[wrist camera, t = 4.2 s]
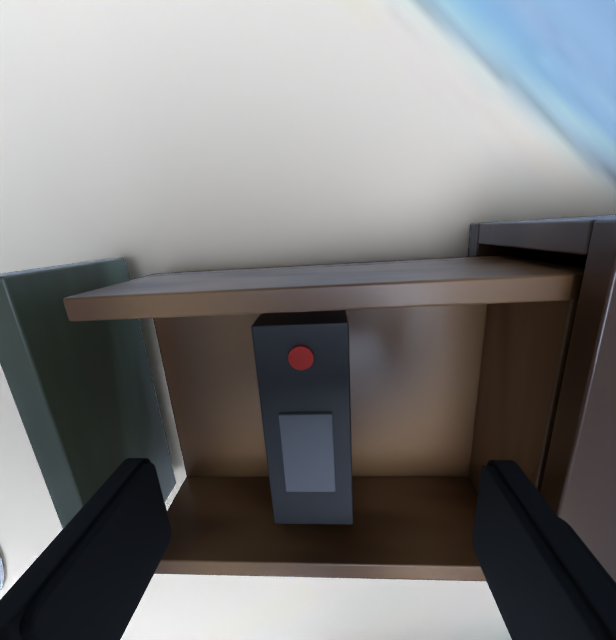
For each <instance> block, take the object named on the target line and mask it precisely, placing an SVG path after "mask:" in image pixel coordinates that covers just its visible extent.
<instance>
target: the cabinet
mask: <svg viewBox="0 0 616 640" xmlns="http://www.w3.org/2000/svg"><path fill="white" fill-rule="evenodd" d="M499 255H502V256H508V257H514V258H521V259H527V260H533V261H540V262H546V263H552V264H559V265H565V266H572V267H578V268H584V269H585V270H584V275H583V280H582V285H581V290H580V295H579V300H578V305H577V310H576V315H575V321H574V326H573V331H572V336H571V341H570V346H569V351H568V356H567V361H566V366H565V371H564V376H563V382H562V387H561V392H560V397H559V402H558V407H557V412H556V417H555V422H554V427H553V432H552V437H551V442H550V448H549V453H548V458H547V463H546V468H545V473H544V478H543V483H542V488H541V493H540V494H541V495H542V496H543V498H544V499H545V500H546V502H547V503H548V504H549V506H550V507H551V508H552V509H553V511H554V512H555V513H556V515H557V516H558V517H559V518H561V519H563V520H564V521H566V522H567V523H568V524H569V525H570V526H571V527H572V528H573V530H574V531H575V532H576V533H577V535H578V536H579V537H580V538H581V540H582V541H583V542H584V543H585V545H586V546H587V547H588V548H589V550H590V551H591V552H592V553H593V555H594V556H595V557H596V559H597V560H598V561H599V562H600V564H601V565H602V566H603V567H604V569H605V570H606V571H607V572H608V574H609V575H610V576H611V577H612V579H613V580H614V581H615V582H616V215H601V216H585V217H569V218H552V219H536V220H520V221H504V222H487V223H472V224H471V229H470V240H469V252H468V257H480V256H499Z"/></svg>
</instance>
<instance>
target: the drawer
mask: <svg viewBox="0 0 616 640" xmlns="http://www.w3.org/2000/svg"><path fill="white" fill-rule="evenodd" d="M584 270H585V269H584V268H578V267H572V266H565V265H559V264H552V263H546V262H540V261H533V260H527V259H521V258H514V257H508V256H502V255H499V256H480V257H461V258H443V259H424V260H406V261H387V262H368V263H350V264H331V265H312V266H294V267H275V268H256V269H238V270H219V271H201V272H182V273H163V274H152V275H148V276H145V277H141V278H137V279H133V280H130V278H129V273H128V269H127V264H126V260H125V259H124V258H117V259H102V260H94V261H87V262H80V263H73V264H66V265H58V266H51V267H44V268H37V269H30V270H22V271H15V272H8V273H1V274H0V364H1V366H2V369H3V372H4V374H5V377H6V380H7V382H8V385H9V387H10V390H11V393H12V395H13V398H14V401H15V403H16V406H17V409H18V411H19V414H20V417H21V419H22V422H23V425H24V427H25V430H26V432H27V435H28V438H29V440H30V443H31V446H32V448H33V451H34V454H35V456H36V459H37V462H38V464H39V467H40V470H41V472H42V475H43V477H44V480H45V483H46V485H47V488H48V491H49V493H50V496H51V499H52V501H53V504H54V507H55V509H56V512H57V514H58V517H59V520H60V522H61V525H62V528H63V529H64V528H65V526H66V525H67V524H68V523H69V522H70V521H71V520H72V518H73V517H74V516H75V515H76V514H77V513H78V512H79V511H80V509H81V508H82V507H83V506H84V505H85V504H86V503H87V502H88V500H89V499H90V498H91V497H92V496H93V495H94V494H95V493H96V491H97V490H98V489H99V488H100V487H101V486H102V485H103V483H104V482H105V481H106V480H107V479H108V478H109V477H110V476H111V474H112V473H113V472H114V471H115V470H116V469H117V468H118V467H119V465H120V464H121V463H122V462H123V461H124V460H125V459H127V458H148V459H149V460H150V462H151V463H152V464H154V465H155V467H156V471H157V475H158V479H159V483H160V487H161V491H162V495H163V499H164V503H165V501H166V499H167V498H168V496H169V494H170V493H171V491H172V489H173V488H174V486H175V484H176V480H175V476H174V471H173V467H172V463H171V458H170V454H169V449H168V445H167V441H166V436H165V432H164V427H163V423H162V419H161V414H160V410H159V405H158V401H157V396H156V392H155V388H154V383H153V379H152V374H151V370H150V366H149V361H148V357H147V352H146V348H145V344H144V339H143V335H142V330H141V326H140V322H139V319H144V318H153V320H154V325H155V329H156V334H157V339H158V343H159V348H160V353H161V357H162V362H163V367H164V371H165V376H166V381H167V386H168V390H169V395H170V400H171V404H172V409H173V414H174V418H175V423H176V428H177V433H178V437H179V442H180V447H181V451H182V456H183V461H184V465H185V470H186V475H187V478H186V479H185V481H184V482H183V484H182V486H181V488H180V490H179V491H178V493H177V495H176V497H175V498H174V500H173V502H172V504H171V505H170V507H169V509H168V511H167V515H168V519H169V523H170V527H171V540H170V543H169V545H168V547H167V549H166V551H165V553H164V555H163V557H162V559H161V561H160V563H159V565H158V567H157V569H156V571H155V573H154V574H194V575H237V576H281V577H324V578H367V579H411V580H454V581H486V578H485V576H484V574H483V572H482V569H481V567H480V565H479V562H478V560H477V558H476V555H475V553H474V549H473V545H472V535H473V527H474V519H475V511H476V504H477V496H478V488H479V480H480V473H481V467H482V466H487V463H488V461H489V460H513V461H515V462H516V463H517V464H518V466H519V467H520V468H521V469H522V471H523V472H524V473H525V475H526V476H527V477H528V478H529V480H530V481H531V482H532V484H533V485H534V486H535V487H536V489H537V490H538V491H539V493H541V488H542V483H543V478H544V473H545V468H546V463H547V458H548V453H549V448H550V442H551V437H552V432H553V427H554V422H555V417H556V412H557V407H558V402H559V397H560V392H561V387H562V382H563V376H564V371H565V366H566V361H567V356H568V351H569V346H570V341H571V336H572V331H573V326H574V321H575V315H576V310H577V305H578V300H579V295H580V290H581V285H582V280H583V275H584ZM333 310H346V314H347V318H348V323H349V358H350V402H351V445H352V488H353V524H275V523H274V516H273V508H272V499H271V491H270V482H269V474H268V466H267V457H266V449H265V440H264V432H263V423H262V415H261V407H260V398H259V390H258V381H257V373H256V365H255V356H254V348H253V339H252V331H251V326H252V325H253V323H254V322H255V321H256V319H257V318H258V317H259V316H260V314H262V313H286V312H309V311H333Z"/></svg>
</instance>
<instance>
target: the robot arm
mask: <svg viewBox="0 0 616 640" xmlns="http://www.w3.org/2000/svg"><path fill="white" fill-rule="evenodd" d="M170 540H171V527H170V523H169V519H168V515H167V511H166V507H165V503H164V499H163V495H162V491H161V487H160V483H159V479H158V475H157V471H156V467H155V465H154V464H152V463H151V462H150V460H149V459H148V458H127V459H125V460H124V461H123V462H122V463H121V464H120V465H119V467H118V468H117V469H116V470H115V471H114V472H113V473H112V474H111V476H110V477H109V478H108V479H107V480H106V481H105V482H104V483H103V485H102V486H101V487H100V488H99V489H98V490H97V491H96V493H95V494H94V495H93V496H92V497H91V498H90V499H89V500H88V502H87V503H86V504H85V505H84V506H83V507H82V508H81V509H80V511H79V512H78V513H77V514H76V515H75V516H74V517H73V518H72V520H71V521H70V522H69V523H68V524H67V525H66V526H65V528H64V529H63V530H62V531H61V532H60V533H59V534H58V535H57V537H56V538H55V539H54V540H53V541H52V542H51V543H50V544H49V546H48V547H47V548H46V549H45V550H44V551H43V552H42V553H41V555H40V556H39V557H38V558H37V559H36V560H35V561H34V562H33V564H32V565H31V566H30V567H29V568H28V569H27V570H26V572H25V573H24V574H23V575H22V576H21V577H20V578H19V579H18V581H17V582H16V583H15V584H14V585H13V586H12V587H11V588H10V590H9V591H8V592H7V593H6V594H5V595H4V596H3V597H2V599H1V600H0V640H120V639H121V637H122V635H123V633H124V631H125V629H126V627H127V625H128V623H129V621H130V620H131V618H132V616H133V614H134V612H135V610H136V608H137V606H138V604H139V602H140V600H141V598H142V596H143V594H144V592H145V590H146V588H147V586H148V584H149V582H150V580H151V579H152V577H153V575H154V573H155V571H156V569H157V567H158V565H159V563H160V561H161V559H162V557H163V555H164V553H165V551H166V549H167V547H168V545H169V543H170ZM472 545H473V549H474V553H475V555H476V558H477V560H478V562H479V565H480V567H481V569H482V572H483V574H484V576H485V578H486V581H487V583H488V585H489V588H490V590H491V592H492V595H493V597H494V599H495V601H496V604H497V606H498V608H499V611H500V613H501V615H502V618H503V620H504V622H505V625H506V627H507V629H508V631H509V634H510V636H511V638H512V640H616V582H615V581H614V580H613V579H612V577H611V576H610V575H609V574H608V572H607V571H606V570H605V569H604V567H603V566H602V565H601V564H600V562H599V561H598V560H597V559H596V557H595V556H594V555H593V553H592V552H591V551H590V550H589V548H588V547H587V546H586V545H585V543H584V542H583V541H582V540H581V538H580V537H579V536H578V535H577V533H576V532H575V531H574V530H573V528H572V527H571V526H570V525H569V524H568V523H567V522H566V521H564V520H563V519H561V518H559V517H558V516H557V515H556V513H555V512H554V511H553V509H552V508H551V507H550V506H549V504H548V503H547V502H546V500H545V499H544V498H543V496H542V495H541V494H540V493H539V491H538V490H537V489H536V487H535V486H534V485H533V484H532V482H531V481H530V480H529V478H528V477H527V476H526V475H525V473H524V472H523V471H522V469H521V468H520V467H519V466H518V464H517V463H516V462H515V461H513V460H489V461H488V463H487V466H482V467H481V473H480V480H479V488H478V496H477V504H476V511H475V519H474V527H473V535H472ZM3 580H4V569H3V563H2V560H1V558H0V590H1V588H2V586H3Z"/></svg>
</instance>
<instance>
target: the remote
mask: <svg viewBox="0 0 616 640" xmlns="http://www.w3.org/2000/svg"><path fill="white" fill-rule="evenodd" d="M251 331H252V339H253V348H254V356H255V365H256V373H257V381H258V390H259V398H260V407H261V415H262V423H263V432H264V440H265V449H266V457H267V466H268V474H269V482H270V491H271V499H272V508H273V516H274V523H275V524H353V488H352V445H351V402H350V358H349V323H348V318H347V314H346V310H333V311H309V312H286V313H262V314H260V316H259V317H258V318H257V319H256V321H255V322H254V323H253V325H252V326H251Z"/></svg>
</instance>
